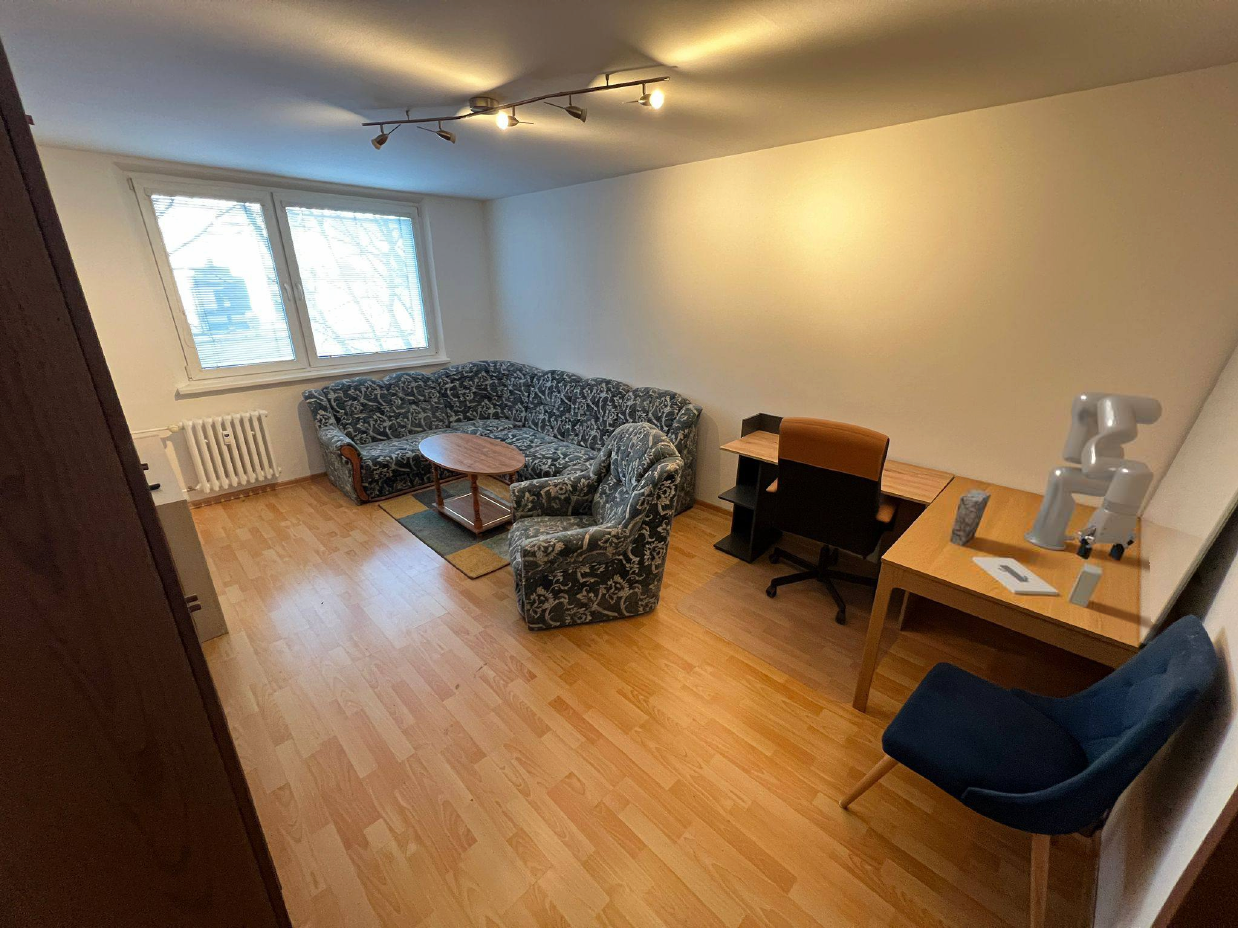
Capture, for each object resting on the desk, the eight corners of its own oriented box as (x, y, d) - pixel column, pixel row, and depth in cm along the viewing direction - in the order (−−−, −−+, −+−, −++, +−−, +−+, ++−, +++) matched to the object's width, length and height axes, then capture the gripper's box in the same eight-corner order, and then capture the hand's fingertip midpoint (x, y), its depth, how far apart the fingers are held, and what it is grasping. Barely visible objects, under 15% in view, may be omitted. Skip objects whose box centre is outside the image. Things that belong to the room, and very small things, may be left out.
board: (1011, 561, 172) (1012, 558, 172) (1057, 594, 154) (1058, 591, 153) (972, 559, 172) (973, 556, 172) (1013, 593, 154) (1015, 590, 153)
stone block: (967, 548, 180) (983, 501, 173) (946, 541, 185) (961, 495, 178) (977, 537, 188) (992, 491, 181) (956, 531, 193) (970, 486, 186)
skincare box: (1069, 593, 154) (1083, 561, 150) (1088, 600, 151) (1102, 567, 147) (1067, 601, 150) (1081, 569, 146) (1086, 608, 147) (1101, 575, 143)
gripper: (1136, 502, 142) (1114, 552, 148) (1078, 500, 142) (1059, 550, 148) (1163, 513, 135) (1138, 565, 141) (1102, 511, 135) (1080, 563, 141)
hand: (1097, 557), depth 145 cm, fingers open, 9 cm apart
